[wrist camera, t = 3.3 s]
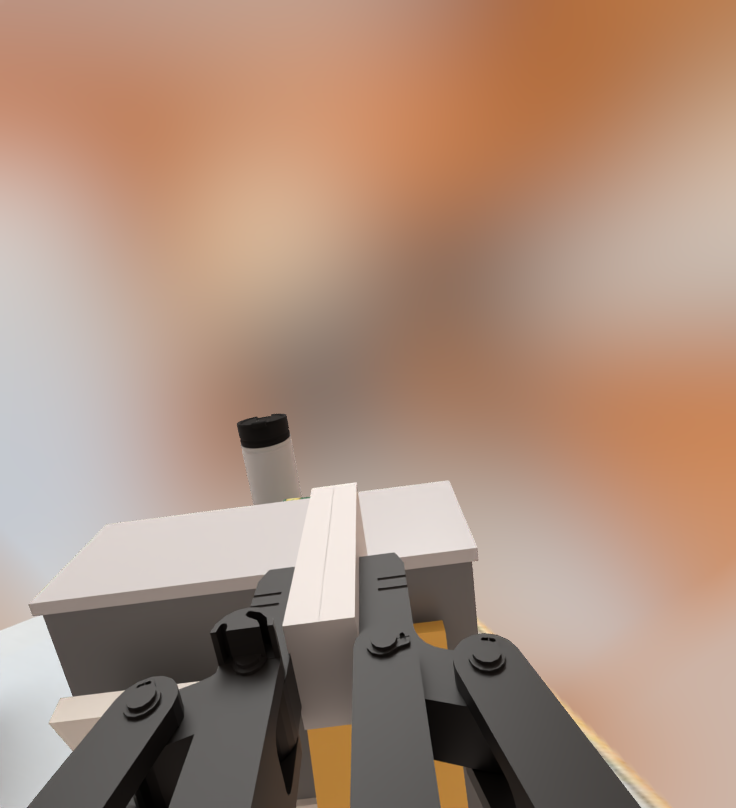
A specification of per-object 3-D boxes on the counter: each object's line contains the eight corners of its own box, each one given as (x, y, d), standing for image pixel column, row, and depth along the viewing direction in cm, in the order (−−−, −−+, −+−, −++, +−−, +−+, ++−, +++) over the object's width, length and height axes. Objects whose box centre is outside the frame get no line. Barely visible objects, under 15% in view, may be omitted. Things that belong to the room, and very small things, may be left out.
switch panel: (500, 829, 32) (477, 548, 26) (127, 871, 32) (26, 605, 27) (470, 711, 40) (449, 480, 35) (175, 747, 41) (106, 524, 35)
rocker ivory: (257, 800, 29) (208, 709, 24) (123, 816, 29) (45, 728, 24) (260, 771, 30) (215, 679, 25) (132, 787, 30) (60, 698, 25)
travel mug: (263, 573, 63) (231, 426, 58) (267, 546, 69) (239, 411, 64) (311, 565, 63) (284, 418, 58) (311, 538, 70) (287, 404, 64)
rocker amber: (470, 819, 26) (446, 632, 26) (320, 836, 26) (295, 651, 26) (465, 796, 27) (442, 620, 27) (323, 813, 28) (299, 637, 27)
